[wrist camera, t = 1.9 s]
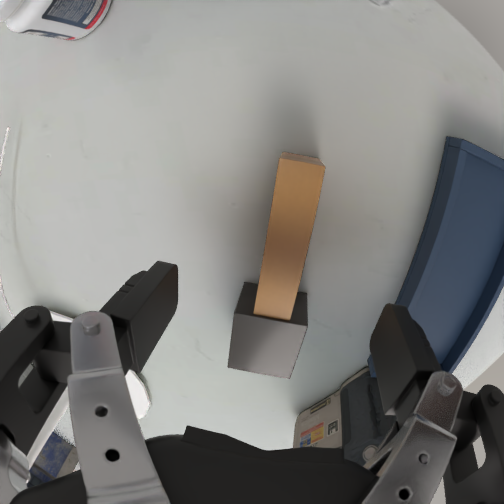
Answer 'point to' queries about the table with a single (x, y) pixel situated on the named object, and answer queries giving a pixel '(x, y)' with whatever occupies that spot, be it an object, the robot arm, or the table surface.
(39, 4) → the pill bottle
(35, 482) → the building
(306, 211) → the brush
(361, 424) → the camera
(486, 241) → the tray
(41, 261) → the table surface
